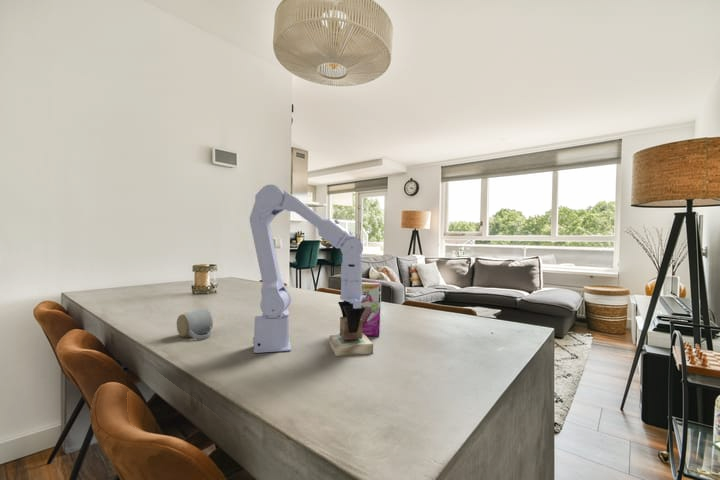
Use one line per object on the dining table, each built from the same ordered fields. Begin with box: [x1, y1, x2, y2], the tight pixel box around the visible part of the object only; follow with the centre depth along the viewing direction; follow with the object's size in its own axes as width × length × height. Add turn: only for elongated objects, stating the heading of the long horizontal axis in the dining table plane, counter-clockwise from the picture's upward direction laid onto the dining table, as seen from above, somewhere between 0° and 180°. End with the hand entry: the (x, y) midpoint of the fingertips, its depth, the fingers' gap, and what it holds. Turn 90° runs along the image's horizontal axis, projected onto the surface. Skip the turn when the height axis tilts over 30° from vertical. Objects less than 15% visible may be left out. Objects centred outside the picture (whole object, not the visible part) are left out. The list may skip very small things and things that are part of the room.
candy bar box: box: [361, 281, 382, 338], centre depth 107 cm, size 11×5×16 cm, turn 84°
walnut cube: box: [339, 316, 362, 340], centre depth 93 cm, size 5×5×5 cm
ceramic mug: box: [176, 307, 214, 341], centre depth 103 cm, size 11×8×8 cm
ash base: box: [329, 334, 374, 357], centre depth 93 cm, size 10×10×3 cm
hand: (350, 329), depth 93 cm, fingers closed on walnut cube, 5 cm apart
